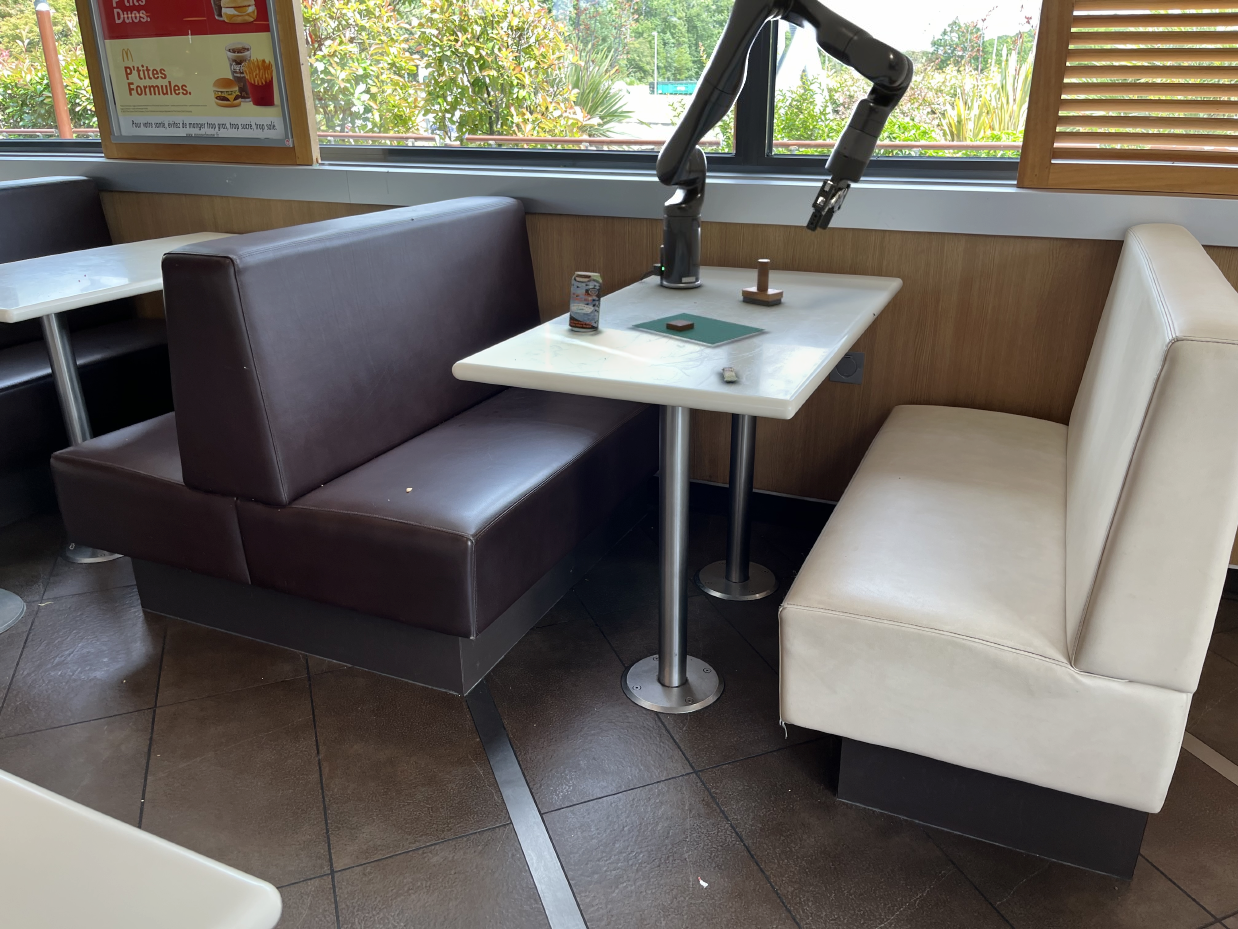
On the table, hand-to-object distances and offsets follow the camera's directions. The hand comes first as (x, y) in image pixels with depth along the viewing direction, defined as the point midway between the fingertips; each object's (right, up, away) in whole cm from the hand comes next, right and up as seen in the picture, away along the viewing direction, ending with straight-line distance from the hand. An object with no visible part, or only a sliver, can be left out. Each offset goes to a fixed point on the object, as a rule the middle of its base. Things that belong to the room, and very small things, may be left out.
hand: (815, 229), depth 187 cm
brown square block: (-29, -22, -7) cm, 37 cm away
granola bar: (-23, -35, -37) cm, 56 cm away
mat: (-25, -22, -6) cm, 34 cm away
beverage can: (-48, -22, -5) cm, 53 cm away
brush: (-9, -12, +18) cm, 23 cm away
